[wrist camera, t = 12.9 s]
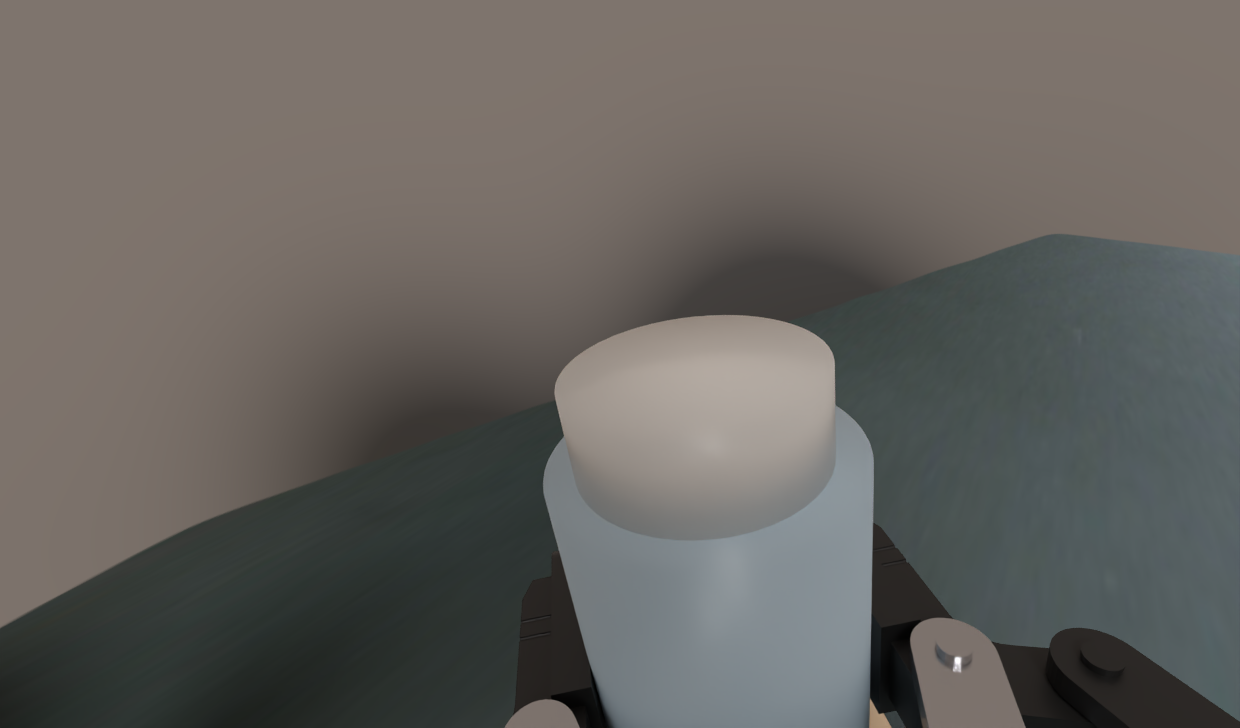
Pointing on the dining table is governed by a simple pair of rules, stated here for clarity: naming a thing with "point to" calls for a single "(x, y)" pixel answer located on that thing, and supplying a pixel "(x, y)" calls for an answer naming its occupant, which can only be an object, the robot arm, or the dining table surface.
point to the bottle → (716, 526)
